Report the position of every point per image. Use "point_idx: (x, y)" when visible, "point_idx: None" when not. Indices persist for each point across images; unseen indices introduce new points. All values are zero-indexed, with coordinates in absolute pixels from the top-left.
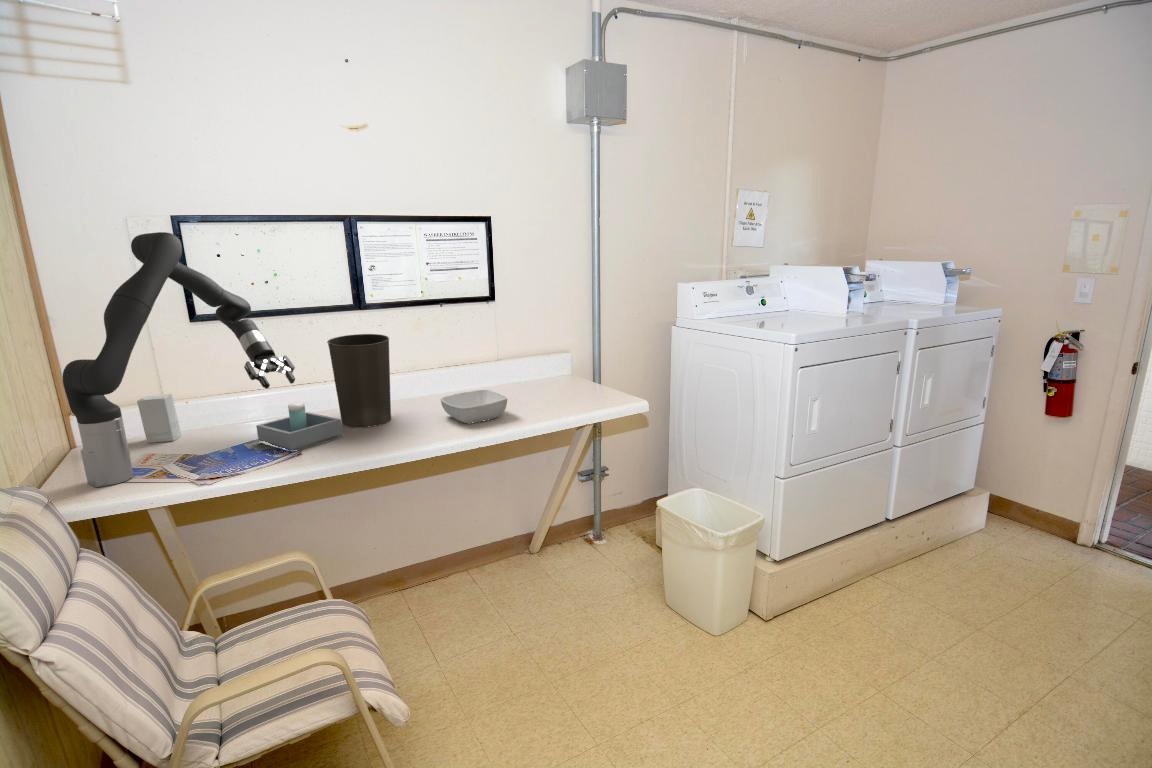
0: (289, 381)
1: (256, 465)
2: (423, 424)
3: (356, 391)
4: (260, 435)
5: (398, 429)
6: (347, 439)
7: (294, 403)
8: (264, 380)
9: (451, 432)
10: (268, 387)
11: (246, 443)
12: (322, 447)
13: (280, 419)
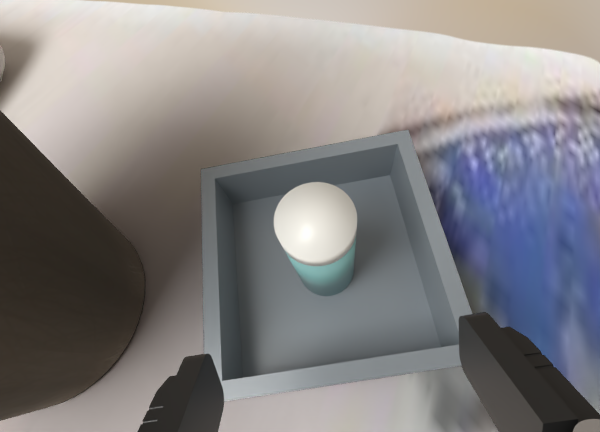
0: (217, 424)
1: (509, 134)
2: (36, 140)
3: (37, 149)
4: None
5: (98, 148)
6: None
7: (312, 246)
8: (527, 365)
9: (70, 51)
10: (461, 346)
11: None
12: None
13: (359, 375)
